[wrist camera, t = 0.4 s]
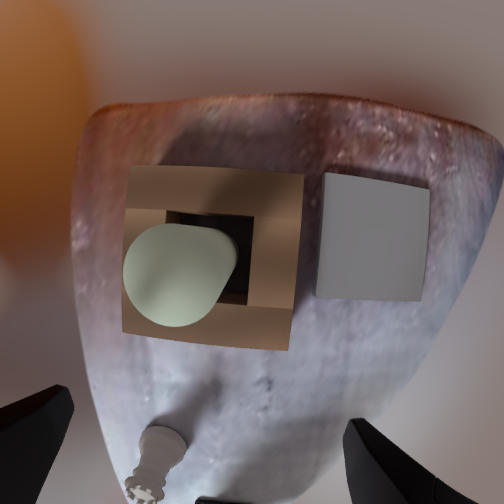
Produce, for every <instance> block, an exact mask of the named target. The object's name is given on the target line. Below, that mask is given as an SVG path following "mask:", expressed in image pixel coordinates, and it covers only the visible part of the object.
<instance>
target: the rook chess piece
mask: <svg viewBox="0 0 504 504" xmlns="http://www.w3.org/2000/svg"><path fill="white" fill-rule="evenodd" d="M139 448H140V454H141V459H140V463H139V465H138V467H136V468H135V469H134V470H133V475H134V476H131V477H128V478H127V479H126V480H125V486H126V492H125V493H127V494H128V496H127V497H128V498H129V499H130V500H133V499H134V498H136V499H137V500H138V501H137V503H136V504H143V503H144V502H145V503H147V504H157V502H159V501H161V500H162V499H164V496H165V494H164V492H163V490H162V487H164V486H165V484H166V481H165V477H166V475H167V474H168V472H169V470H170V469H171V468H173V467H174V466H175V465H177V464H178V463H180V462H181V461H182V460H183V457H184V455H185V453H186V450H187V447H186V443H185V441H184V440H183V438H182V437H181V436H180V435H179V434H178V433H177V432H175V431H174V430H173V429H170V428H167V427H165V426H152V427H148V428H146V429H145V430H144V431H143V432H142V436H141V437H140V441H139Z"/></svg>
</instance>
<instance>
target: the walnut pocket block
mask: <svg viewBox="0 0 504 504" xmlns="http://www.w3.org/2000/svg"><path fill="white" fill-rule="evenodd" d="M303 188H304V174H295V173H285V172H275V171H263V170H251V169H237V168H220V167H199V166H164V165H131V166H130V174H129V182H128V191H127V200H126V211H125V223H124V238H123V258H122V332H124V333H129V334H135V335H141V336H147V337H154V338H161V339H167V340H175V341H182V342H190V343H198V344H207V345H217V346H227V347H238V348H250V349H265V350H282V351H288V347H289V339H290V331H291V322H292V313H293V304H294V295H295V285H296V275H297V265H298V254H299V242H300V230H301V217H302V203H303ZM181 214H187V215H203V216H217V217H231V218H244V219H254V229H253V241H252V254H251V266H250V278H249V291H248V293H244V292H232V291H222V292H221V294H220V296H219V298H218V299H217V301H216V303H215V305H214V306H213V308H212V309H211V310H210V311H209V312H208V313H207V314H206V315H205V316H204V317H203V318H201V319H200V320H198V321H196V322H195V323H192V324H189V325H186V326H180V327H170V326H164V325H160V324H157V323H155V322H153V321H151V320H149V319H148V318H146V317H145V316H144V315H142V314H141V313H140V312H139V311H138V310H137V309H136V308H135V306H134V305H133V303H132V302H131V300H130V298H129V297H128V294H127V292H126V289H125V285H124V279H123V266H124V261H125V257H126V254H127V252H128V250H129V248H130V246H131V244H132V243H133V242H134V240H135V239H136V238H137V237H138V236H139V235H140V234H142V233H143V232H144V231H146V230H147V229H149V228H152V227H154V226H157V225H161V224H181Z"/></svg>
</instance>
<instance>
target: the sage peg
mask: <svg viewBox="0 0 504 504" xmlns="http://www.w3.org/2000/svg"><path fill="white" fill-rule="evenodd" d="M238 259H239V248H238V245H237V243H236V241H235V239H234V238H233V237H232V236H231V235H230V234H229V233H227V232H226V231H223V230H220V229H214V228H206V227H198V226H189V225H181V224H161V225H157V226H154V227H152V228H149V229H147V230H146V231H144V232H143V233H142V234H140V235H139V236H138V237H137V238H136V239H135V240H134V242H133V243H132V244H131V246H130V248H129V250H128V252H127V254H126V257H125V261H124V266H123V279H124V285H125V289H126V292H127V294H128V297H129V298H130V300H131V302H132V303H133V305H134V306H135V308H136V309H137V310H138V311H139V312H140V313H141V314H142V315H144V316H145V317H146V318H148V319H149V320H151V321H153V322H155V323H157V324H160V325H164V326H170V327H180V326H186V325H189V324H192V323H195V322H196V321H198V320H200V319H201V318H203V317H204V316H205V315H206V314H207V313H208V312H209V311H210V310H211V309H212V308H213V306H214V305H215V303H216V301H217V299H218V298H219V296H220V294H221V292H222V290H223V288H224V287H225V285H226V283H227V281H228V279H229V277H230V275H231V274H232V272H233V270H234V268H235V266H236V264H237V262H238Z"/></svg>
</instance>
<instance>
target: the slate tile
mask: <svg viewBox="0 0 504 504" xmlns="http://www.w3.org/2000/svg"><path fill="white" fill-rule="evenodd" d="M429 203H430V190H428V189H424V188H419V187H414V186H409V185H403V184H398V183H393V182H387V181H381V180H375V179H369V178H363V177H356V176H350V175H343V174H335V173H328V172H325V173H324V174H323V175H322V193H321V208H320V223H319V235H318V247H317V258H316V268H315V278H314V288H313V296H314V297H316V298H334V299H355V300H380V301H417V302H420V301H421V294H422V287H423V280H424V272H425V263H426V253H427V242H428V227H429Z"/></svg>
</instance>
